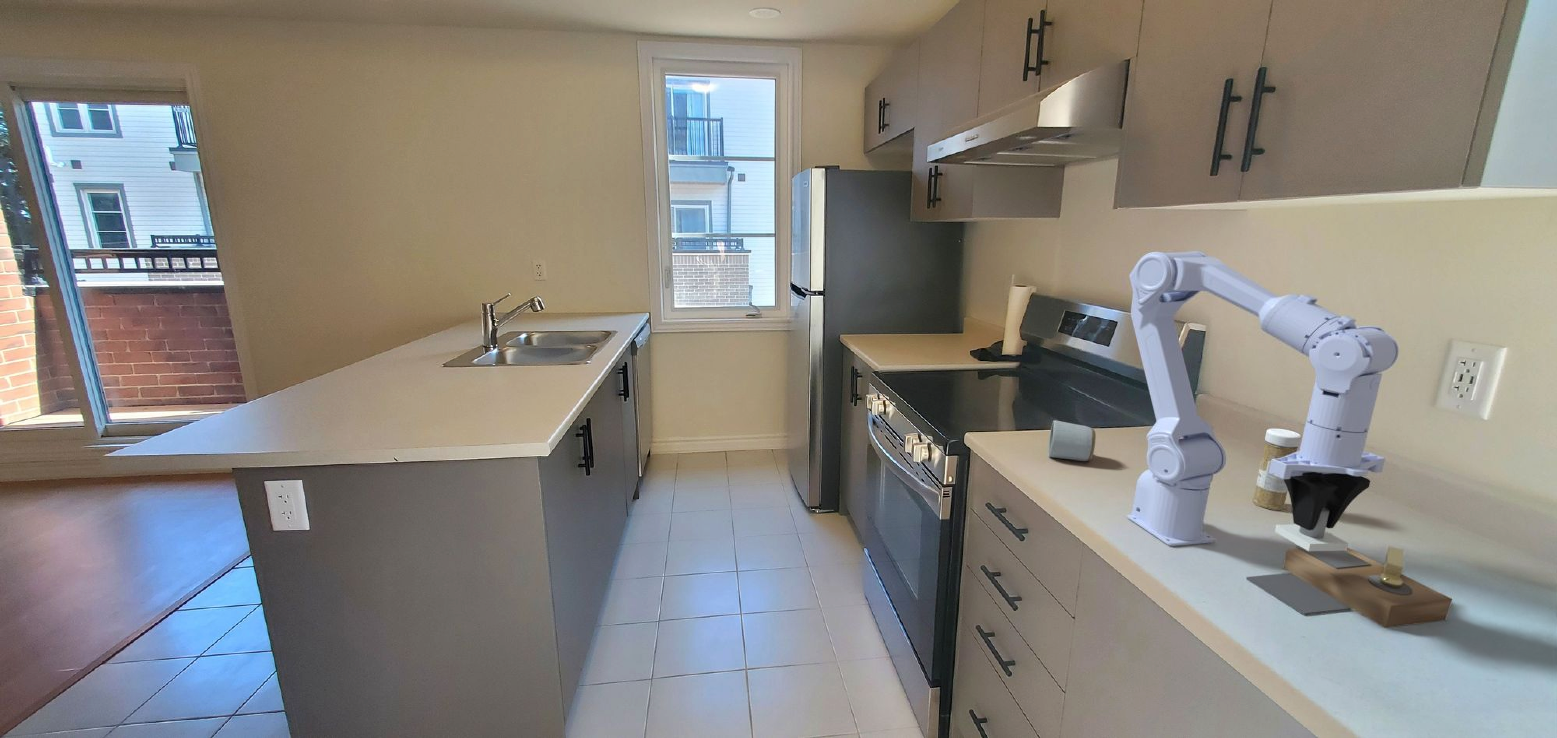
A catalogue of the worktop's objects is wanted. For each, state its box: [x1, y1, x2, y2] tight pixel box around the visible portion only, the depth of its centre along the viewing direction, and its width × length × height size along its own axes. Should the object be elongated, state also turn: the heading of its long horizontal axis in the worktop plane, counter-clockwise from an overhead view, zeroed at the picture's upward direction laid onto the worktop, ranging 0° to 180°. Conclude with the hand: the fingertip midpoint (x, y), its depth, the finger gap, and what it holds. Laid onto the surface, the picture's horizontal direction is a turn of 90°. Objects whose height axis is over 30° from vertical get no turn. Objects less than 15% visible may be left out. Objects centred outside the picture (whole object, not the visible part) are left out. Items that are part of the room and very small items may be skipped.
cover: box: [1274, 507, 1349, 551], centre depth 78 cm, size 5×5×4 cm
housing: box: [1282, 545, 1453, 628], centre depth 80 cm, size 13×9×3 cm
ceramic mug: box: [1047, 419, 1097, 462], centre depth 126 cm, size 11×8×8 cm
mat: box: [1245, 572, 1352, 616], centre depth 80 cm, size 8×7×1 cm
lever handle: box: [1379, 545, 1404, 588], centre depth 78 cm, size 7×2×3 cm, turn 134°
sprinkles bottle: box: [1252, 428, 1302, 511], centre depth 104 cm, size 5×5×13 cm
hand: (1312, 525), depth 78 cm, fingers closed on cover, 2 cm apart
